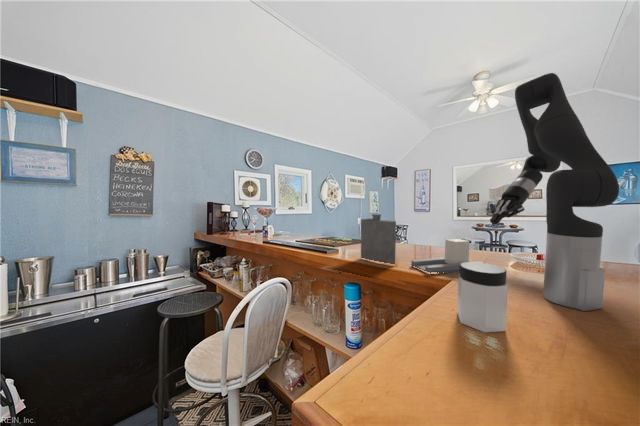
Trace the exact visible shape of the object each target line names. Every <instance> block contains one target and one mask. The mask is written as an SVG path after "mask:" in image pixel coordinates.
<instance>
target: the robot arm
mask: <svg viewBox="0 0 640 426" xmlns="http://www.w3.org/2000/svg"><path fill="white" fill-rule="evenodd" d="M560 79H561V78H560V77H559V76H558V75H557V74H556V73H554V72H549V73H545V74H543V75H540V76H538V77H535V78H533V79H530V80H528V81H525V82H523V83H521V84H518V85H517V86H516V88H515V90H514V99H515V105H516V108H517V111H518V116H519V119H520V122H521V124H522V127H523V130H524V134H525V136H526V142H527V150H528V151H527V152H528V153H529V154H530V155H529V156H527V158H526V159H525V161H524V164H523V168H522V170H521V172H520V173H519V175H518V176H517V177H516V178H515V179H514V180H513V181H512V182H511V183H510V185H508V187H507V188H506V190H504V192H503V193H502V195H501V198H500V199H499V200H497V203H489V209H490V213H491V214H492V217H491V218H490V219H489V222H490V223H491V224H492V225H497V224H499V223H500V222H501V221H502V220H503V219H504V218H511V217H513V216H515V215H517V214H520V213H521V212H524V211H525V210H526V209H525V207H524V206H523V205H524V203H525V202H526V201H527V199H528V198H529V197H530V196H531V195H532V193H533V192H534V190H535V189H536V187H537V186H538V184H540V182H541V181H542V179H543V173H551V174H550V175H549V177H548V178H547V183H546V188H545V189H546V191H545V192H546V193H545V195H546V196H545V197H546V199H545V200H546V215H545V216H546V221H545V222H546V227H547V228H546V240H545V241H546V244H545V257H544V259H545V260H544V274H543V275H544V276H543V290H542V291H543V298H544V299H546V300H547V301H549V302H551V303H553V304H554V303H555V304H557V305H560V306H563V307H568V308H571V309H575V310H580V311H583V312H589V311H592V310H593V311H594V310H599V309H603V304H604V302H603V301H604V292H605V291H604V288H605V276H606V269H605V268H601V256H602V248H603V247H602V246H603V245H602V243H603V232H604V228H603V226H602V225H601V224H600V223H599V222H594V221H590V220H587V219H584V218H582V217H580V216H578V215H576V214H575V213H574V208H599V207H607V206H610V205H611V204H614V202H615V201H617V200H618V196H619V194H620V184H619V181H618V179H617V178H618V177H617V176H616V174H615V172H614V171H613V170H612V168H611V167H610V166H609V164H608V163H607V162H606V161H605V160H604V158H603V157H602V155H601V154H600V153H599V152H598V151H597V150H596V148H595V147H594V145H593V144H592V142H591V140H590V138H589V137H588V134H587V132H586V131H585V128H584V125H583V124H582V123H581V120H580V118H579V117H578V116H577V114H576V112H575V111H574V109H573V108H572V106H571V104H570V102H569V100H568V98H567V96H566V93H565V90H564V86H563V83H562V81H561V80H560ZM547 104H548V105H547ZM544 105H547V107H546V108H545V110H544V111H543V113H541V115H540V117H539V118H536V117H535V115H533V114H532V112H531V110H533V109H534V108H538V107H541V106H544ZM561 163H563V164H565V165H567V166H568V167H570V168H571V169H559V168H560V166H561ZM558 169H559V170H558Z"/></svg>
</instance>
